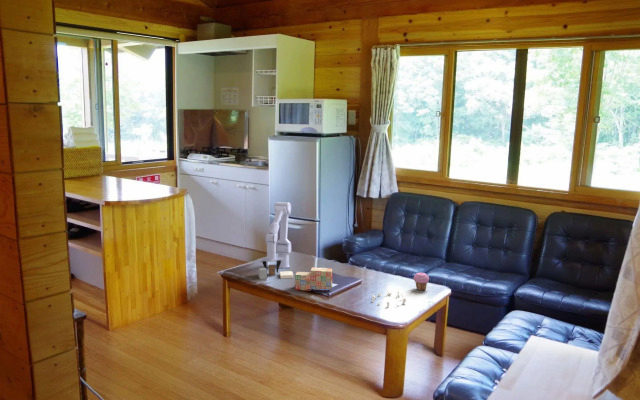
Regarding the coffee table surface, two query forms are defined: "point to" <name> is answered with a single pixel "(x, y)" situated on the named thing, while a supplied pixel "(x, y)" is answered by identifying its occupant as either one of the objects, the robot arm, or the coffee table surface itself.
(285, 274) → the cream slab
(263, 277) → the grey rectangular block
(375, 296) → the game piece set
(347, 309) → the coffee table surface
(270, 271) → the walnut block
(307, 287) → the stack of blocks
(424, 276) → the cupcake
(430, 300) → the coffee table surface
